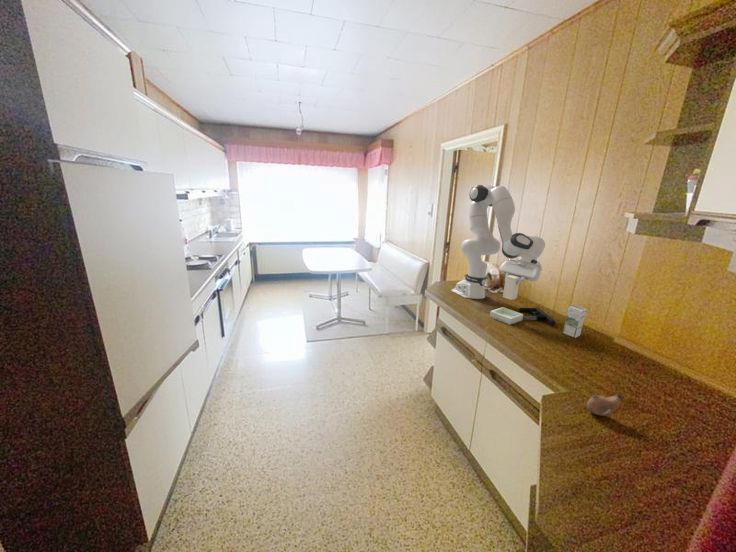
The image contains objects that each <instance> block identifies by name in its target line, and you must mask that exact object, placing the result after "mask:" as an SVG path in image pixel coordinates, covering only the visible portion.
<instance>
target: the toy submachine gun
mask: <svg viewBox="0 0 736 552" xmlns="http://www.w3.org/2000/svg"><path fill="white" fill-rule="evenodd" d="M519 312H521V313H528V314H529V315H523V318H522V320H526V321H527V320H528V321H529V320H530V321H532V320H533V321H538V322H546V323H548V324H549V325H551V326H554V325H556V320H554V319H553V318H552V317H551V316H549V315H548V314H547V313H546V312H545V311H543V309H541V308H540V307H539V306H536V307H520V308H519Z"/></svg>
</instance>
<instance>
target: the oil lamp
mask: <svg viewBox="0 0 736 552" xmlns="http://www.w3.org/2000/svg"><path fill="white" fill-rule="evenodd" d="M623 401H624V400H623V397H622V395H620V394H619V393H616V394H614V395H612V396H608V397H606V396H604V395H598V394H593V395H592V396H591V397H590V398H589V399H588V400H587V402H586V407H587V409H588V411H589V412H590V413H592V414H594V415H596V416H600V417H601V416H604V417H605V416H606V417H607V416H611V414H612V412H613V411H614V408H615V407H617V406H618V405H619V404H621V403H622V402H623Z"/></svg>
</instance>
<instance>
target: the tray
mask: <svg viewBox="0 0 736 552" xmlns="http://www.w3.org/2000/svg"><path fill="white" fill-rule="evenodd" d="M523 316H524V314H523V313H522V312H521V313H520V312H518V311H515V310H513V309H509V308H506V307H504V306H501V307H499V308H496V309H492V310H490V311H489V318H491V317H492V319H493V320H496V319H497V320H496V321H499V322H501V321H502V323H503V324H506V323H507V324H506V325H508V324H509V326H511V325H514V324H516V323H518V322H521V321H523V319H522V318H523Z"/></svg>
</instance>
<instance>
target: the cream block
mask: <svg viewBox="0 0 736 552" xmlns="http://www.w3.org/2000/svg"><path fill="white" fill-rule="evenodd" d="M505 278H506V280H505V279H504V288H503V294H502V298H505V299H508V300H511V301H512V300H516V299H518V294H519V288H520V287H519V286H520V285H518V284H516V282H517V280H520V279H521V278H520V277H518V276H514V275H509V276H506V275H505Z"/></svg>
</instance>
